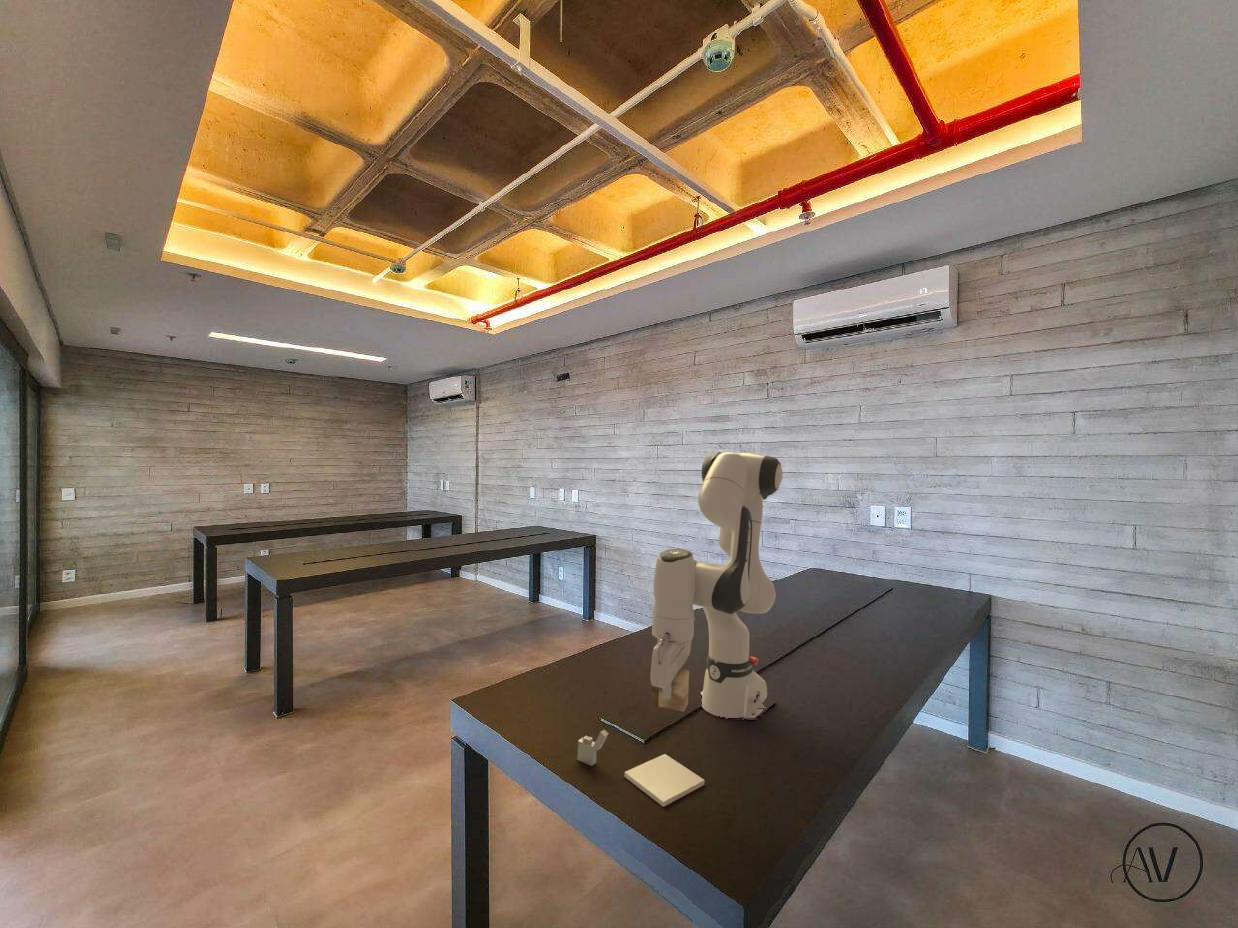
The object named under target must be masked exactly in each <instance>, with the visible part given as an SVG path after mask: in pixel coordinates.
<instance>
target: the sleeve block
mask: <svg viewBox="0 0 1238 928" xmlns="http://www.w3.org/2000/svg"><path fill="white" fill-rule="evenodd" d="M689 682H690V670H687V669H682V668H681V669H680V670H679V672H678V673H677V675H676V676H675V678H674V679H673V681H672V683H671V684H672V688H673V691H672V696H671V698H670V699H666V698H663V696H662V688H660V687H656V686H652V685H651V699H650V700H651V701H650V702H651V703H650V705H651V706H653V707H659V708H665V709H669V710H674V711H679V712H682V713H683V712H685V710H686V708H687V707H688V704H689V687H690V686H689V684H690V683H689Z"/></svg>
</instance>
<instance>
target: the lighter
mask: <svg viewBox="0 0 1238 928" xmlns="http://www.w3.org/2000/svg"><path fill="white" fill-rule="evenodd" d="M608 736H609V732H608V731H607V730H606V729H603V730H601V731H600V732H599V733H598V736H597V738H596V740H595V741H593V737H592V736H588V735H585V736H582V737H581V738H579V739H578V741H577V742H578V743H577V761H579V762H581V763H583V764H586V765H589V766H592V767H593V766H594V765H596V764H597V751H599V750H600V749H602V747H603V746H604V743H605V741H606V740H607V737H608Z"/></svg>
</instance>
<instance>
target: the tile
mask: <svg viewBox="0 0 1238 928" xmlns="http://www.w3.org/2000/svg"><path fill="white" fill-rule="evenodd" d="M624 778H625V779H627V780H628V781H630V783H632V784H633V785H634V786H636V787H637V788H639V790H641V791H642V792H644V793H645V794H646V795H647V796H648V797H650V798H651V799H653V800H654V801H655V802H656V803H657V804H659V805H660V806H661V807H663V808H665V807H666V806H668V805H670V804H672V803H673V802H675V801H677V800H680V799H681V798H682V797H684V796H686V795H688V794H690V793H692V792H694V791H695V790H697V789H699V788H701V787H703V786H705V779H704V778H702V777H700V776H699V775H697V773H695V772H693V771H692V770H690V769H688V768H687V767H685V766H684V765H683V764H682V763H679V762H678V761H677V760H675V759H673V758H672V757H670V756H669V755H667V754H666V753H664V754H661V755H659V756H657V757H655V758H652V759H650V760H648V761H646V762H644V763H641V764H639V765H637V766H635V767H633V768H631V769H628V770H626V771H624Z"/></svg>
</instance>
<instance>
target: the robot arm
mask: <svg viewBox="0 0 1238 928" xmlns="http://www.w3.org/2000/svg"><path fill="white" fill-rule="evenodd" d="M701 479H702V484H701V487H700V489H699V494H698V499H697V505H698V506H699V510H700V511H701V513H702V515H703V516H704V517H705V518H706V520H708V521H709V522H711V523H712V524H713V525H715V526H717V527H719V528H720V531H719V535H718V536H719V537H718V544H719V546H720V549H722V551H723V552H724V553H726V554H727V555H728V561H726V563H724V564H718V563H716V564H715V563H709V562H703V561H699V560H696V559H694V554H693V553H692V552H691V551H690V550H688V549H684V548H671V549H666V550H663V551H661V552H660V553H659V554H658V556H657V559H656V563H655V568H654V575H653V576H654V577H653V588H652V589H653V591H652V592H653V595H654V605H653V607H652V622H651V627H652V628H651V634H652V636H653V637H654V638H656V639H657V644H655V646H654V647H653V650H652V654H651V655H652V656H651V666H650V676H649V677H650V678H649V679H650V684H651V687H652V686H656V687H660V688H662V696H663V698H666V699H670V698H671V696H672V691H673V688H672V684H671V683H672V681H673V679H674V678H675V676H676V675H677V673H678V672H679V670H680V669H682V667H683V665H685V662H687V660H688V658H689V656H690V654H691V649H692V643H693V642H692V639H693V638H694V636H695V633H694V632H695V627H696V624H697V623H696V621H697V619H696V617H695V610H694V606H698V607H702V609H703V612H704V615H705V617H706V620H707V626H708V653H707V656H706V657H707V658H706V670H705V673H704V680H703V690H702V691H700V694H701V695H702V698H701V701H702V705H701V707H702V708H703V710H704V711H706V712H707V713H709V714H711V715H713V716H716V717H719V716H720V717H719V718H722V717H725V718H724V719H728V718H739V717H744V718H755V717H756V716H757V715H759V714H760V713H761V712H762V711H763V709H758V708H766V707H764V705H763V704H762V703H763V702H764V701H765V699H766V698H767V694H768V687H767V686H768V685H767V682H766V681H765V680H764V679H763V678H762V677H761V675H759V674H758V673H757V672H755V671H754V669H753V665H754V666H757V665H758V664H759V658H758V657H754V656H752V655H751V656H750V631H749V628H748V627H747V626H746V624H745V623H743V621H742V620H741V619H740V618H739V616H738V614H737V612H739V611H740V612H743V613H747V614H766V613H767V612H769V611H770V610H771V609H772V607H773V606H774V604H775V601H776V597H777V595H776V589H775V588H776V587H775V585H774V583H773V581H772V579H770V578H769V577H768V575H767V574H766V572H765V570H764V568H763V566H762V562H761V559H760V553H759V548H760V547H759V545H760V535H761V527H762V520H763V507H764V505H763V503H764V502H763V501H764V500H765V501H766V499H768V497H769V496H772V495H773V494H775V493H776V492H777V491H778V490H779V488H780V486H781V483H782V480H783V469H782V464H781V462H780V461H779V459H778V458H776V457H773V456H770V455H761V454H756V453H755V454H754V453H749V452H742V453H741V452H732V451H731V452H730V451H729V452H728V451H727V452H726V451H725V452H721V451H719V452H712V453H710V454H707V456H706V457H705V458H704V460H703V461H702V466H701ZM752 714H755V715H752Z"/></svg>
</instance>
